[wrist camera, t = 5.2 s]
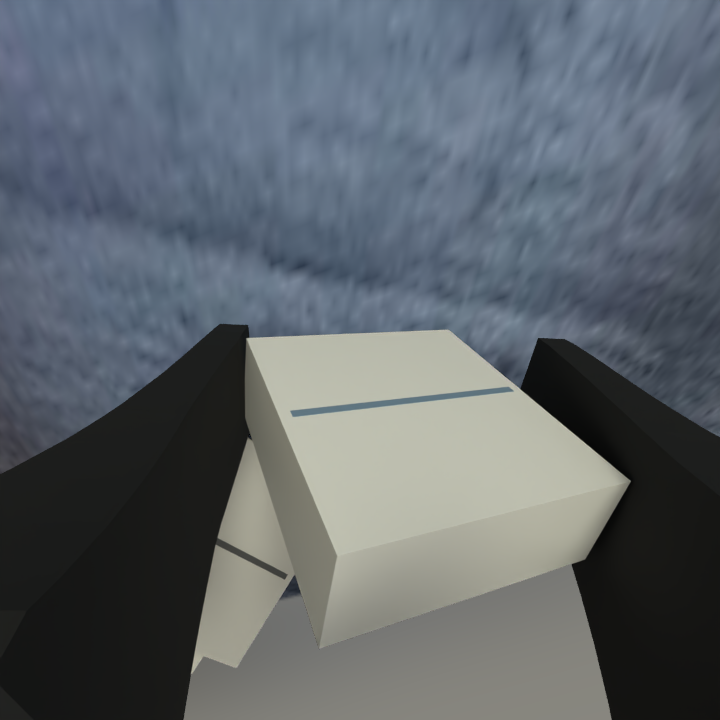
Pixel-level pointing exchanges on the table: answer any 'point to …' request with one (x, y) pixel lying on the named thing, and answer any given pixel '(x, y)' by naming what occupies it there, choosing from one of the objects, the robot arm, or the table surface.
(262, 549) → the domino
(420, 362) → the domino
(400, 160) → the table surface
